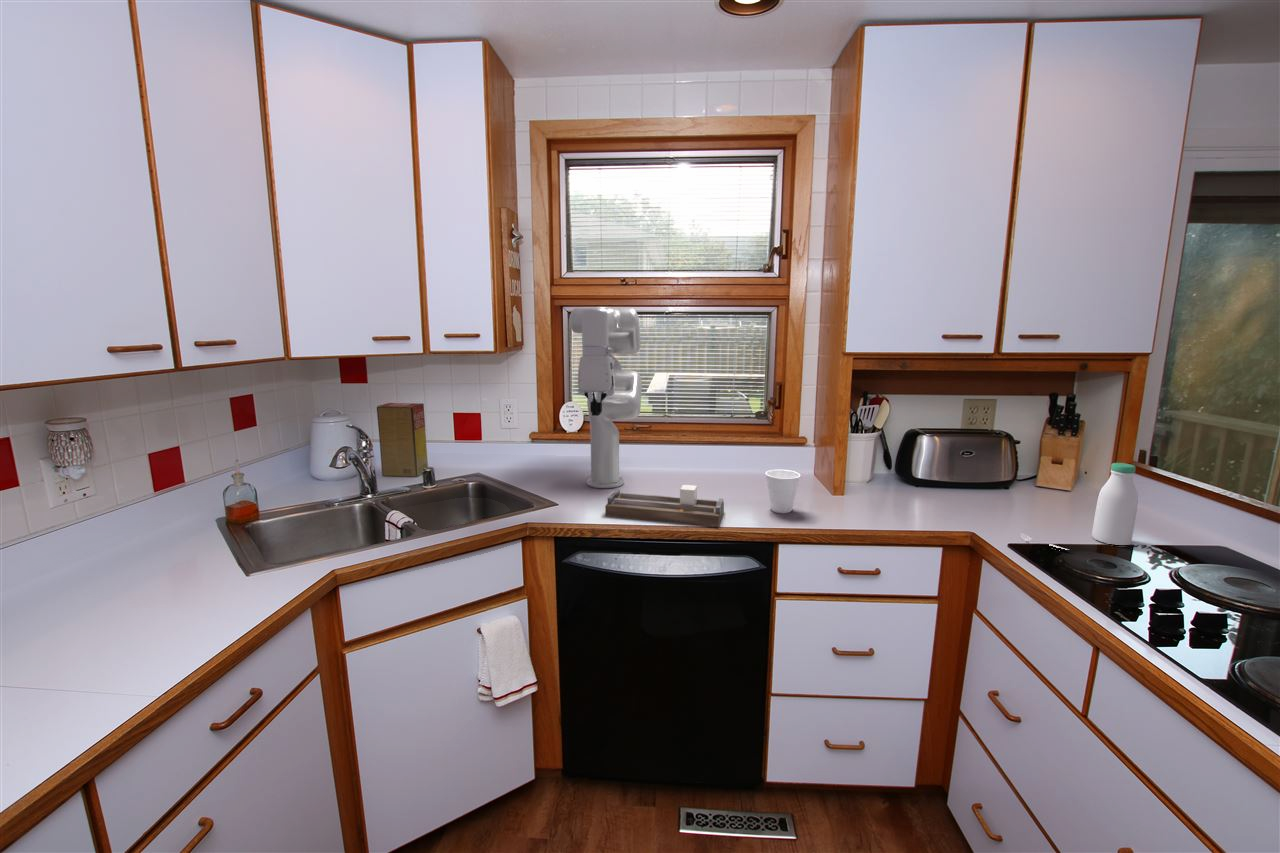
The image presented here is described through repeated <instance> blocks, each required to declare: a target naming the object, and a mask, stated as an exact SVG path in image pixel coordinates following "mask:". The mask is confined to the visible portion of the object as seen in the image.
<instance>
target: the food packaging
mask: <svg viewBox="0 0 1280 853" xmlns="http://www.w3.org/2000/svg"><path fill="white" fill-rule="evenodd" d="M376 416H377V425H378V427H377V428H378V435H379V436H378V437H379V451H380V461H381V462H380V463H381V464H380V466H381V476H382V477H394V478H395V477H398V478H401V477H403V478H417V477H419V476H421V475H423V474H422V470H423V469H424V468H428V469H429V466H428V464H429V463H428V449H427V438H426V437H427V436H426V421H425V420H426V419H425V418H426V416H425V405H424V403H420V402H419V403H417V402H416V403H411V402H410V403H409V402H407V403H406V402H405V403H404V402H388V403H384V404H379V405H376Z"/></svg>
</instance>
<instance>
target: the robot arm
mask: <svg viewBox="0 0 1280 853" xmlns="http://www.w3.org/2000/svg"><path fill="white" fill-rule="evenodd" d="M569 326H570V329H571V330H572V332H573V333H574V334H581V343H582V344H581V345H582V346H581V347H582V356H580V358H579V363H578V370H577V371H578V372H577V387H578V391H577V393H578V395H580V396H584V397H585V398H587V401H586V404H587V405H586V406H587V407H586V408H587V412H588V418H589V419H588V420H589V430H590V433H589V434H590V477H588V478H587V479H586V485H587V486H589V487H590V488H591V487H592V488H596V489H614V488H618V487H620V486H622V485H624V484H625V479H624V478H623V477H621V476H620V432H619V428H618V427H617V426H616V425H615V423H614V422H613V421H614V420H634V419H636V418H638V417H639V415H640V412H641V403H642V391H643V389H642V387H643V382H642V376H641V375H640V373H639V372H638V371H635V370H629V369H628V370H625V369H623V368H622V367H623V366H622V364H621V363H620V361H619V360H618V359H617V358H616V357H615V356H614V355H633V354H634V355H635V354H637V353H638V352H639V351H640V349H641V345H642V340H641V329H640V328H641V326H640V319H639V315H638V312H637V311H636V310H635V309H634V308H633V307H610V306H609V307H608V306H596V307H575V308H573V309H572V310H571V312H570V315H569ZM613 354H614V355H613ZM612 420H613V421H612Z"/></svg>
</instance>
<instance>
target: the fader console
mask: <svg viewBox="0 0 1280 853" xmlns="http://www.w3.org/2000/svg"><path fill="white" fill-rule="evenodd" d="M724 510H725V502H724V498H718V500H716V499H704V498H703V499H702V498H697V503H696V505H686V504H680V496H667V495H658V494H657V495H656V494H655V495H654V494H644V493H635V492H634V493H632V492H621V491H620V490H619V489H615V490H614V491H613V492H612V493H611V494H610V495H609V496H608V497H607V504H605V515H606V516H605V517H613V516H616V518H624V519H626V518H627V519H634V518H635V519H637V520H647V521H655V522H656V521H657V522H668V523H679V524H685V525H687V524H689V525H697V526H707V525H708V526H710V527H718V526H719V527H720V524H721V521H722V519H723V518H722V517H723V515H724V513H725V512H724Z"/></svg>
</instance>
